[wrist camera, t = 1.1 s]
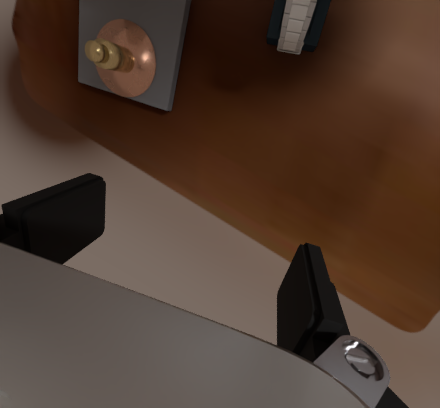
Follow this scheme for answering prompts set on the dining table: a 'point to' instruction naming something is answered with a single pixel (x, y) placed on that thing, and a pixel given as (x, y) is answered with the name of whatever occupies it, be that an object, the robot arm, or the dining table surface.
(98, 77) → the board
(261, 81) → the dining table surface
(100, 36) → the hub
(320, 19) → the watch
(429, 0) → the dining table surface
